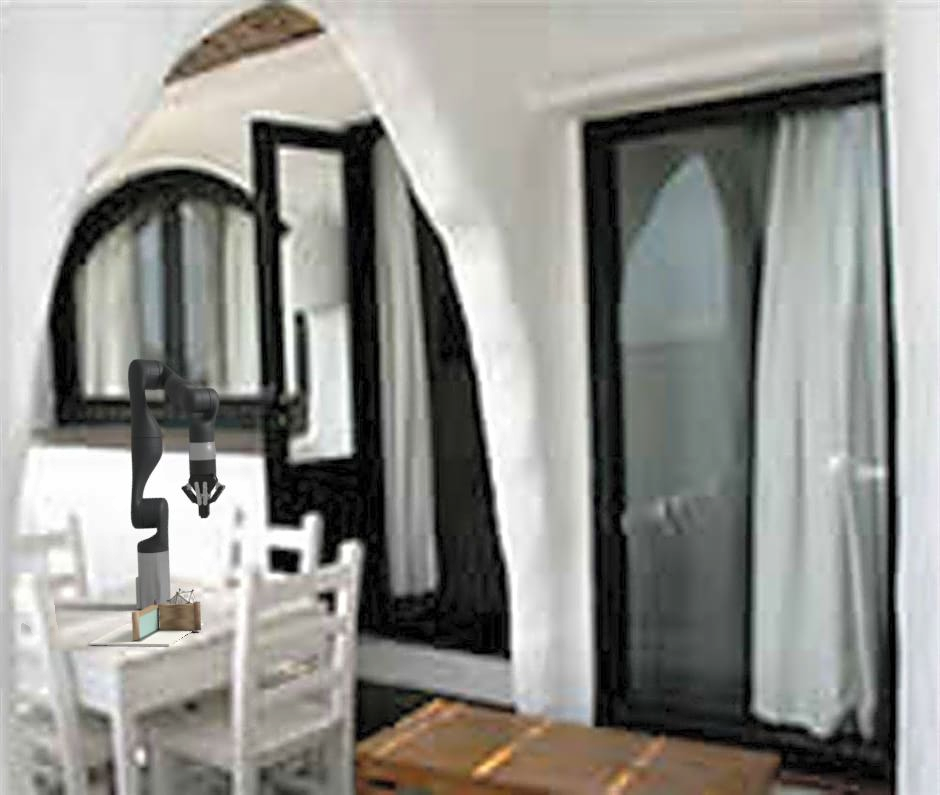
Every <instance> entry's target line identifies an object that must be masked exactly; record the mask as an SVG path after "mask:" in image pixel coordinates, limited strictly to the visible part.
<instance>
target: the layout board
mask: <svg viewBox="0 0 940 795" xmlns="http://www.w3.org/2000/svg"><path fill="white" fill-rule="evenodd" d="M201 625H203V626H204V623H203V622H201ZM159 627H160V622H159ZM191 631H193V632H198V630H160V629H159V630H155V631H153V632H151V633H149V634H148V635H146V636H144V637H142V638H140V639H139V640H133V630H132V622H127V623H126V624H123V625H122V626H120V627H118V628H116V629H114V630H112V631H110V632H108V633H106V634H104V635H102V636H101V637H99V638H96V639H95V640H93V641H91V642H89V643H88V646H89V645H107V646H106V647H171V646H172V645H174V644H175V643H177V642H179V641H180V640H182V639H183V638H185V637H186V636H185V635H186V634H188V633H189V632H191ZM191 633H192V632H191ZM188 635H189V634H188ZM184 636H185V637H184ZM182 637H183V638H182ZM181 638H182V639H181ZM179 639H180V640H179ZM178 640H179V641H178ZM176 641H177V642H176ZM173 643H174V644H173Z"/></svg>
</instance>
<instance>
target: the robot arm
mask: <svg viewBox="0 0 940 795" xmlns="http://www.w3.org/2000/svg"><path fill="white" fill-rule="evenodd" d="M127 381H128V382H127V383H128V384H127V385H128V393H129V402H130V403H129V404H130V426H131V427H130V429H131V430H130V431H131V432H130V452H131V454H130V455H131V472H132V473H131V495H130V496H131V497H130V522H131V525H132V527H133V528H134V529H135V530H137V529H138V530H145V529H146V530H147V529H149V530H150V529H156V531H155V532H156V533H154V534H153V535H151V536H150V537H148V538H146V539H143V540H142V539H141V540H139V541H138V543H137V545H136V547H137V548H136V552H137V554H136V555H137V577H135V597H136V610H143V609H145V608H147V607H149V606H151V605H154V601H155V600H159V604H170V602H167V601H166V600H171V599H172V598H171V576H170V574H171V573H170V572H171V571H170V552H169V551H170V546H169V544H170V543H169V541H170V540H169V520H170V519H169V517H170V515H169V514H170V512H169V503H168V500H167V499H166V498H165V497H144V493H145V492H144V491H145V488H146V484H147V482H148V480H149V478H150V477H151V475H152V473H153V472H154V470H155V469H156V467H157V466H158V464H159V462H160V460H161V459H162V457H163V450H164V449H163V446H164V444H163V431H162V429H161V427H160V424H159V423H158V421H157V420H156V418H155V416H154V415H153V414H152V411H151V410H150V408H149V406H148V402H147V397H146V391H157V390H162V391H165V394H166V395H167V397H168V398H169V399H170V400H172V401H174V402H176V403H177V404H179V406H180V407H181V408H182V410H183V411H184V412H185V413H189V414H202V416H201V417H200V419H198V420H196V421H195V420H194V421H193V422H191V423H189V425H188V439H189V440H188V441H189V442H188V443H189V445H188V469H189V478H188V480H187V483H186V484H185V485H182V486H181V490H182V492H183V493H184V495H186V497H187V498H188V500H189V501H190V502H191V504H194V505H197V506H198V508H197V509H198V510H197V511H198V516H199V517H200V519H208V518H209V516H210V514H211V511H210V510H211V509H210V505H211V504H212V503H213V504H214V503H215V502H217V500H218V499H219V497H220V496H221V495H222V493H223V492H224V490H225V489H226V485H224V484H221V483H220V482H219V478H218V477H217V450H216V445H215V444H216V443H215V425H216V420H217V419H216V418H217V414H218V410H219V408H220V396H219V393H218V392H217V390H215V388H212V387H204V388H203V387H202V388H201V387H200V388H198V386H197V385H196V384H194V383H193V382H191V381H189V380H187V379H185V378H183V377H181V376H180V375H178V374H177V373H176V372H175V371H174V370H173V369H171V368H170V367H169V366H168V365H167V364H166V363H165V362H163V361H161V360H157V359H144V358H143V359H140V358H137V359H136V358H135V359H133V360H132V361H131V362H130V363H129V365H128V370H127ZM214 488H215V491H214V492H213V495H212V491H213V490H214Z"/></svg>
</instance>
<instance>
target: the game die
mask: <svg viewBox="0 0 940 795" xmlns="http://www.w3.org/2000/svg"><path fill="white" fill-rule="evenodd" d="M194 591H195V590H194V589H193V588H192V589H191V590H182V589H181V588H178V591H175V594H174V596H173V597H172V598H171V600H166V601H167V602H170V604H193V602H198V601H197V600H196V597H195V595H194ZM200 607H202V605H201V604H200Z"/></svg>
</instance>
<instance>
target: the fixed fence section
mask: <svg viewBox="0 0 940 795" xmlns="http://www.w3.org/2000/svg"><path fill="white" fill-rule="evenodd" d="M154 605H158V608H157V621H158V629H157V630H159V629H160V630H198V631H201V630H202V626H201V623H202V622H201V621H202V619H201V615H202V614H201V606H200V605H201V602H200V601H197V602H193V604H159V600H155V601H154ZM159 623H160V627H159ZM198 631H197V632H198Z"/></svg>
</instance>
